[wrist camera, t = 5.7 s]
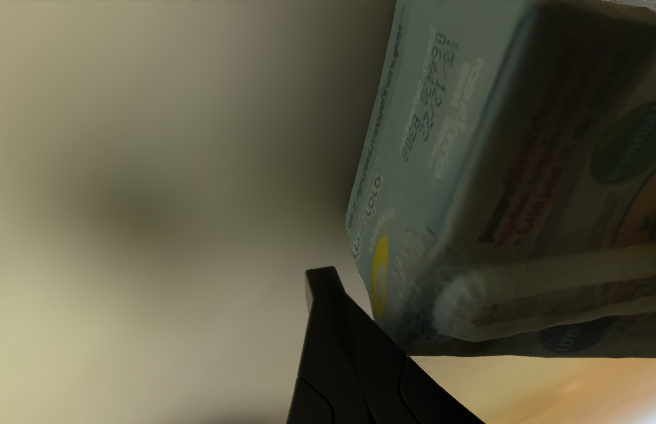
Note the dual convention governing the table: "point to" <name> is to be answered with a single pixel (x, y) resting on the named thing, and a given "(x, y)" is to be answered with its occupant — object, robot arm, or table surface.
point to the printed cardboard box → (512, 180)
